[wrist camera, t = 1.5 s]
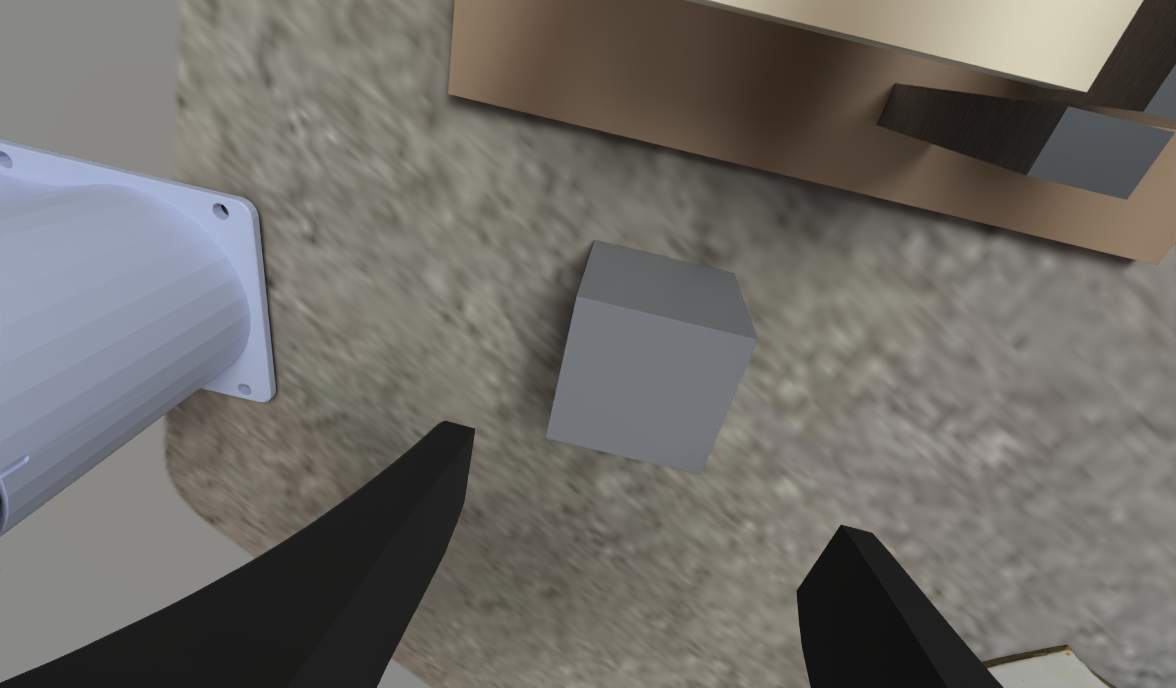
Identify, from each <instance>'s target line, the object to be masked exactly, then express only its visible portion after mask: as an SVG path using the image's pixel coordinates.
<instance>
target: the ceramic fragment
mask: <svg viewBox="0 0 1176 688" xmlns="http://www.w3.org/2000/svg"><path fill="white" fill-rule="evenodd" d="M982 663H983V665H984V666H985V667H986V668H987V669H988V670H989V671H990V673H991V674H992V675H993V676H994V677H995V678H996V679H997V681H998V682H999V683H1000V684H1001V685H1002V686H1003V687H1004V688H1116V687H1115V686H1113V685H1112V684H1110V683H1108V682H1107V681H1105V680H1104V679H1103V678H1101V677H1100V676H1099V675H1097V674H1096V673H1095V672H1093V671H1091V670H1090V669H1089V668H1088V667H1087V666H1086V665H1085V664H1084V663H1083V662H1082V661H1081V660H1080V659H1079V658H1078V657H1077V656H1076V655H1075V653H1074V651H1073V650H1072V649H1071V648H1070V647H1069V646H1068V645H1064V646H1056V647H1051V648H1046V649H1041V650H1036V651H1031V652H1025V653H1021V654H1015V655H1011V656H1006V657H1002V658H997V659H993V660H989V661H986V662H982Z"/></svg>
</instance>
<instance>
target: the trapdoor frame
mask: <svg viewBox="0 0 1176 688" xmlns="http://www.w3.org/2000/svg"><path fill="white" fill-rule="evenodd" d="M1029 85H1030V84H1026V83H1022V82H1018V81H1014V80H1010V79H1006V78H1002V77H998V76H993V75H989V74H985V73H981V72H977V71H973V70H969V69H965V68H961V67H956V66H952V65H948V64H944V63H940V62H936V61H932V60H928V59H924V58H920V57H915V56H911V55H907V54H903V53H899V52H895V51H891V50H887V49H883V48H878V47H874V46H870V45H866V44H862V43H858V42H854V41H850V40H846V39H842V38H837V37H833V36H829V35H825V34H821V33H817V32H813V31H809V30H805V29H800V28H796V27H792V26H788V25H784V24H780V23H776V22H772V21H768V20H763V19H759V18H755V17H751V16H747V15H743V14H739V13H735V12H731V11H727V10H722V9H718V8H714V7H710V6H706V5H702V4H698V3H694V2H690V1H685V0H455V3H454V17H453V31H452V45H451V59H450V73H449V87H448V94H451V95H455V96H459V97H463V98H467V99H472V100H476V101H480V102H484V103H488V104H492V105H496V106H501V107H505V108H509V109H513V110H517V111H521V112H525V113H530V114H534V115H538V116H542V117H546V118H550V119H554V120H558V121H563V122H567V123H571V124H575V125H579V126H583V127H587V128H592V129H596V130H600V131H604V132H608V133H612V134H616V135H621V136H625V137H629V138H633V139H637V140H641V141H645V142H650V143H654V144H658V145H662V146H666V147H670V148H674V149H679V150H683V151H687V152H691V153H695V154H699V155H703V156H708V157H712V158H716V159H720V160H724V161H728V162H732V163H737V164H741V165H745V166H749V167H753V168H757V169H761V170H765V171H770V172H774V173H778V174H782V175H786V176H790V177H794V178H799V179H803V180H807V181H811V182H815V183H819V184H823V185H828V186H832V187H836V188H840V189H844V190H848V191H852V192H857V193H861V194H865V195H869V196H873V197H877V198H881V199H886V200H890V201H894V202H898V203H902V204H906V205H910V206H915V207H919V208H923V209H927V210H931V211H935V212H939V213H944V214H948V215H952V216H956V217H960V218H964V219H968V220H973V221H977V222H981V223H985V224H989V225H993V226H997V227H1001V228H1006V229H1010V230H1014V231H1018V232H1022V233H1026V234H1030V235H1035V236H1039V237H1043V238H1047V239H1051V240H1055V241H1059V242H1064V243H1068V244H1072V245H1076V246H1080V247H1084V248H1088V249H1093V250H1097V251H1101V252H1105V253H1109V254H1113V255H1117V256H1122V257H1126V258H1130V259H1134V260H1138V261H1142V262H1146V263H1151V264H1155V265H1158V264H1159V262H1160V261H1161V260H1162V259H1163V257H1164V256H1165V255H1166V254H1167V252H1168V251H1169V250H1170V248H1171V247H1172V246H1173V245H1174V243H1175V242H1176V130H1175V129H1168V128H1162V127H1155V126H1149V125H1143V124H1139V123H1135V122H1131V121H1126V120H1122V119H1118V118H1114V117H1110V116H1106V115H1102V114H1098V113H1094V112H1090V111H1085V110H1081V109H1077V108H1073V107H1069V106H1062V105H1055V104H1050V103H1046V102H1042V101H1038V100H1034V99H1030V98H1026V97H1023V96H1024V94H1025V92H1026V91H1027V89H1028V87H1029Z"/></svg>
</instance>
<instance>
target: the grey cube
mask: <svg viewBox="0 0 1176 688" xmlns="http://www.w3.org/2000/svg"><path fill="white" fill-rule="evenodd" d="M757 340H758V339H757V336H756V333H755V330H754V327H753V325H752V322H751V319H750V316H749V313H748V310H747V308H746V305H745V302H744V299H743V296H742V294H741V291H740V288H739V285H738V282H737V280H736V277H735V274H734V273H731V272H727V271H723V270H719V269H714V268H710V267H706V266H702V265H698V264H694V263H689V262H685V261H681V260H677V259H673V258H669V257H664V256H660V255H656V254H652V253H648V252H644V251H639V250H635V249H631V248H627V247H623V246H619V245H614V244H610V243H606V242H602V241H598V240H595V241H594V244H593V247H592V250H591V253H590V256H589V259H588V262H587V266H586V269H585V272H584V275H583V278H582V281H581V284H580V287H579V291H578V294H577V297H576V302H575V306H574V311H573V315H572V320H571V325H570V329H569V334H568V338H567V343H566V347H565V352H564V356H563V361H562V366H561V370H560V375H559V379H558V384H557V388H556V393H555V398H554V402H553V407H552V411H551V416H550V420H549V425H548V429H547V434H546V438H547V439H552V440H556V441H560V442H564V443H568V444H573V445H577V446H581V447H585V448H589V449H594V450H598V451H602V452H606V453H610V454H614V455H619V456H623V457H627V458H631V459H635V460H640V461H644V462H648V463H652V464H656V465H661V466H665V467H669V468H673V469H677V470H682V471H686V472H690V473H694V474H698V475H701V472H702V470H703V468H704V465H705V463H706V461H707V458H708V456H709V453H710V451H711V449H712V446H713V444H714V442H715V439H716V437H717V435H718V432H719V430H720V428H721V425H722V423H723V420H724V418H725V416H726V413H727V411H728V409H729V406H730V404H731V402H732V399H733V397H734V395H735V392H736V390H737V387H738V385H739V383H740V380H741V378H742V376H743V373H744V371H745V369H746V366H747V364H748V362H749V359H750V357H751V355H752V352H753V350H754V347H755V345H756V343H757Z"/></svg>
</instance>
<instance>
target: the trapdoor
mask: <svg viewBox="0 0 1176 688" xmlns="http://www.w3.org/2000/svg"><path fill="white" fill-rule="evenodd" d="M685 1H690V2H694V3H698V4H702V5H706V6H710V7H714V8H718V9H722V10H727V11H731V12H735V13H739V14H743V15H747V16H751V17H755V18H759V19H763V20H768V21H772V22H776V23H780V24H784V25H788V26H792V27H796V28H800V29H805V30H809V31H813V32H817V33H821V34H825V35H829V36H833V37H837V38H842V39H846V40H850V41H854V42H858V43H862V44H866V45H870V46H874V47H878V48H883V49H887V50H891V51H895V52H899V53H903V54H907V55H911V56H915V57H920V58H924V59H928V60H932V61H936V62H940V63H944V64H948V65H952V66H956V67H961V68H965V69H969V70H973V71H977V72H981V73H985V74H989V75H993V76H998V77H1002V78H1006V79H1010V80H1014V81H1018V82H1022V83H1026V84H1030V85H1029V87H1028V89H1027V91H1026V92H1025V94H1024V96H1023V97H1026V98H1030V99H1034V100H1038V101H1042V102H1046V103H1050V104H1055V105H1062V106H1069V107H1073V108H1077V109H1081V110H1085V111H1090V112H1094V113H1098V114H1102V115H1106V116H1110V117H1114V118H1118V119H1122V120H1126V121H1131V122H1135V123H1139V124H1143V125H1149V126H1155V127H1162V128H1168V129H1175V130H1176V0H685Z"/></svg>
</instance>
